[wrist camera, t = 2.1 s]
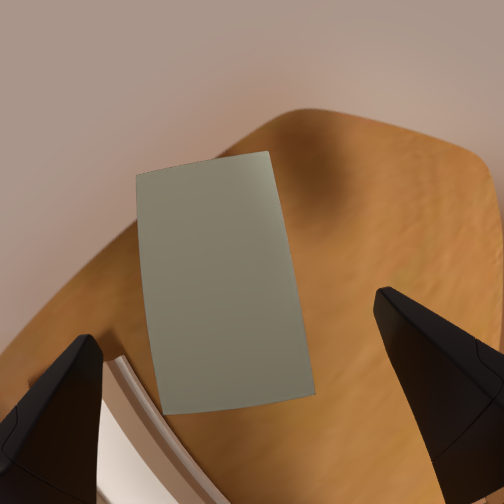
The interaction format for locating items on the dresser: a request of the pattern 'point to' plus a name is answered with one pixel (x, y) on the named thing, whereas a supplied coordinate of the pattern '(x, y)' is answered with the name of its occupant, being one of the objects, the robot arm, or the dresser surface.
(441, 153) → the dresser surface
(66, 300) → the dresser surface
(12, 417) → the robot arm
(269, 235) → the door panel
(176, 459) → the track
